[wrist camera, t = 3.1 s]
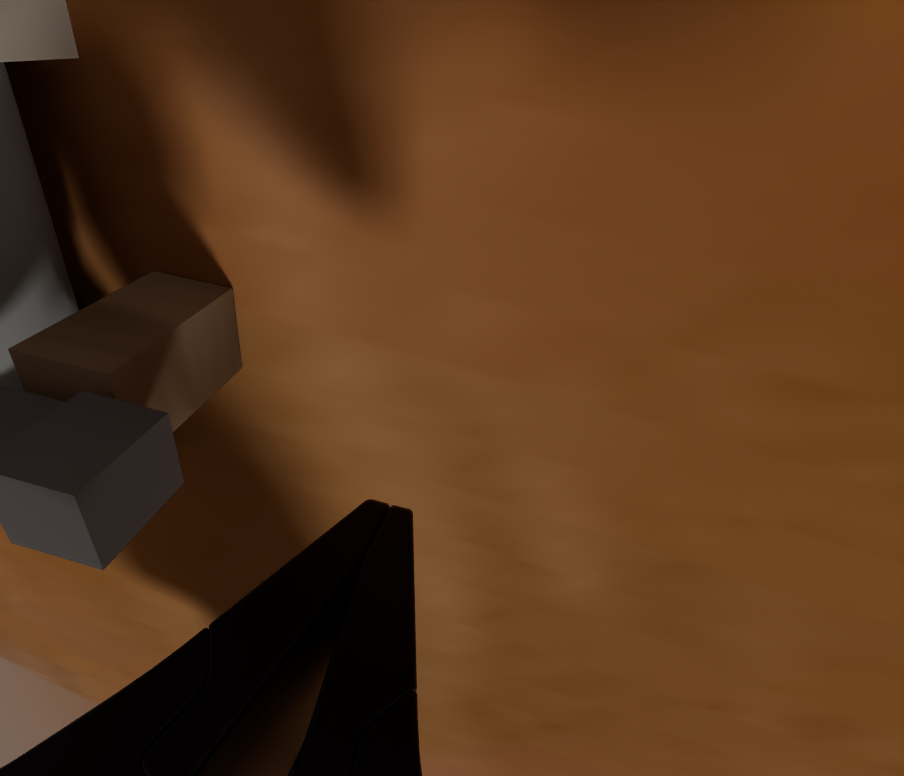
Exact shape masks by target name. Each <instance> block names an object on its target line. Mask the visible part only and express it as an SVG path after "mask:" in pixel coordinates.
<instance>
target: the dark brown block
mask: <svg viewBox="0 0 904 776" xmlns="http://www.w3.org/2000/svg"><path fill="white" fill-rule="evenodd" d="M8 351H9V353H10V356H11V358H12V361H13V363H14V366H15V368H16V371H17V373H18V376H19V378H20V381H21V383H22V386H23V388H24V391H25V392H29V393H33V394H37V395H41V396H45V397H49V398H52V399H56V400H60V401H64V402H67V401H68V400H69V399H71V398H72V397H74V396H75V395H77V394H78V393H80V392H81V391H85V392H89V393H93V394H97V395H101V396H105V397H109V398H113V399H117V400H120V401H124V402H128V403H132V404H136V405H140V406H144V407H148V408H152V409H156V410H160V411H164V412H168V413H169V417H170V421H171V426H172V430H173V432H174V431H175V430H176V429H177V428H178V427H179V426H180V425H181V424H182V423H184V422H185V421H186V420H187V419H188V418H189V417H190V416H191V415H192V414H193V413H194V412H195V411H196V410H197V409H198V408H200V407H201V406H202V405H203V404H204V403H205V402H206V401H207V400H208V399H209V398H210V397H211V396H212V395H213V394H215V393H216V392H217V391H218V390H219V389H220V388H221V387H222V386H223V385H224V384H225V383H226V382H227V381H228V380H230V379H231V378H232V377H233V376H234V375H235V374H236V373H237V372H238V371H239V370H240V369H241V368H242V365H241V356H240V348H239V340H238V331H237V323H236V315H235V306H234V298H233V290H232V288H229V287H225V286H220V285H215V284H211V283H206V282H202V281H197V280H193V279H188V278H184V277H179V276H175V275H170V274H166V273H161V272H157V271H152V272H150V273H148V274H147V275H145V276H143V277H141V278H139V279H137V280H135V281H134V282H132V283H130V284H128V285H126V286H124V287H122V288H120V289H119V290H117V291H115V292H113V293H111V294H109V295H107V296H106V297H104V298H102V299H100V300H98V301H96V302H94V303H92V304H91V305H89V306H87V307H85V308H83V309H81V310H79V311H77V312H76V313H74V314H72V315H70V316H68V317H66V318H64V319H63V320H61V321H59V322H57V323H55V324H53V325H51V326H49V327H48V328H46V329H44V330H42V331H40V332H38V333H36V334H34V335H33V336H31V337H29V338H27V339H25V340H23V341H21V342H20V343H18V344H16V345H14V346H12V347H10V348H8Z"/></svg>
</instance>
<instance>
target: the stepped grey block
mask: <svg viewBox="0 0 904 776" xmlns="http://www.w3.org/2000/svg"><path fill="white" fill-rule="evenodd" d="M183 483H184V479H183V475H182V470H181V466H180V462H179V457H178V453H177V448H176V444H175V439H174V435H173V430H172V426H171V421H170V417H169V413H168V412H164V411H160V410H156V409H152V408H148V407H144V406H140V405H136V404H132V403H128V402H124V401H120V400H117V399H113V398H109V397H105V396H101V395H97V394H93V393H89V392H85V391H81V392H80V393H78V394H77V395H75V396H74V397H72V398H71V399H69V400H68V401H67V402H64V401H60V400H56V399H52V398H49V397H45V396H41V395H37V394H33V393H29V392H25V391H22V390H18V389H14V388H10V387H6V386H2V385H0V522H1V524H2V526H3V528H4V530H5V532H6V534H7V535H8V537H9V539H10V541H11V543H14V544H17V545H21V546H24V547H27V548H31V549H34V550H37V551H41V552H44V553H47V554H51V555H54V556H58V557H61V558H64V559H68V560H71V561H74V562H78V563H81V564H84V565H88V566H91V567H94V568H98V569H101V570H104V569H105V568H106V567H107V566H108V564H109V563H110V562H111V561H112V560H113V559H114V558H115V557H116V556H117V555H118V554H119V553H120V552H121V550H122V549H123V548H124V547H125V546H126V545H127V544H128V543H129V542H130V541H131V540H132V539H133V537H134V536H135V535H136V534H137V533H138V532H139V531H140V530H141V529H142V528H143V527H144V526H145V525H146V523H147V522H148V521H149V520H150V519H151V518H152V517H153V516H154V515H155V514H156V513H157V512H158V510H159V509H160V508H161V507H162V506H163V505H164V504H165V503H166V502H167V501H168V500H169V499H170V498H171V496H172V495H173V494H174V493H175V492H176V491H177V490H178V489H179V488H180V487H181V486H182V485H183Z"/></svg>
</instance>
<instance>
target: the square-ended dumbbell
mask: <svg viewBox="0 0 904 776" xmlns="http://www.w3.org/2000/svg"><path fill="white" fill-rule="evenodd" d="M72 58H79V56H78V52H77V48H76V43H75V39H74V35H73V30H72V26H71V22H70V18H69V13H68V9H67V5H66V0H0V385H2V386H6V387H10V388H14V389H18V390H22V391H24V388H23V386H22V383H21V381H20V378H19V376H18V373H17V371H16V368H15V366H14V363H13V361H12V358H11V356H10V353H9V351H8V348H10V347H12V346H14V345H16V344H18V343H20V342H21V341H23V340H25V339H27V338H29V337H31V336H33V335H34V334H36V333H38V332H40V331H42V330H44V329H46V328H48V327H49V326H51V325H53V324H55V323H57V322H59V321H61V320H63V319H64V318H66V317H68V316H70V315H72V314H74V313H76V312H77V311H79V309H78V306H77V302H76V299H75V296H74V293H73V289H72V286H71V283H70V279H69V276H68V273H67V269H66V266H65V263H64V259H63V256H62V253H61V249H60V246H59V243H58V240H57V236H56V233H55V230H54V226H53V223H52V220H51V216H50V213H49V210H48V206H47V203H46V200H45V196H44V193H43V190H42V187H41V183H40V180H39V177H38V173H37V170H36V167H35V163H34V160H33V157H32V153H31V150H30V147H29V143H28V140H27V137H26V134H25V130H24V127H23V124H22V120H21V117H20V114H19V110H18V107H17V104H16V100H15V97H14V94H13V90H12V87H11V84H10V81H9V77H8V74H7V71H6V67H5V64H4V62H15V61H34V60H53V59H72Z"/></svg>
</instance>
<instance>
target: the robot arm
mask: <svg viewBox="0 0 904 776" xmlns="http://www.w3.org/2000/svg"><path fill="white" fill-rule="evenodd" d="M416 689H417V677H416V632H415V588H414V543H413V512H412V511H411V510H410V509H407V508H403V507H399V506H395V505H393V506H391V507H390V506H389V504H387V503H384V502H380V501H376V500H372V499H369V500H366V501H365V502H363V503H362V504H361V505H360V506H358V507H357V508H356V509H354V510H353V511H352V512H351V513H349V514H348V515H347V516H346V517H344V518H343V519H342V520H341V521H339V522H338V523H337V524H336V525H334V526H333V527H332V528H331V529H329V530H328V531H327V532H326V533H324V534H323V535H322V536H320V537H319V538H318V539H317V540H315V541H314V542H313V543H312V544H310V545H309V546H308V547H307V548H305V549H304V550H303V551H302V552H300V553H299V554H298V555H297V556H295V557H294V558H293V559H291V560H290V561H289V562H288V563H286V564H285V565H284V566H283V567H281V568H280V569H279V570H278V571H276V572H275V573H274V574H273V575H271V576H270V577H269V578H267V579H266V580H265V581H264V582H262V583H261V584H260V585H259V586H257V587H256V588H255V589H254V590H252V591H251V592H250V593H249V594H247V595H246V596H245V597H244V598H242V599H241V600H240V601H238V602H237V603H236V604H235V605H233V606H232V607H231V608H230V609H228V610H227V611H226V612H225V613H223V614H222V615H221V616H220V617H218V618H217V619H216V620H215V621H213V622H212V623H211V624H210V625H209V629H208V628H204V629H203V630H202V631H200V632H199V633H198V634H197V635H195V636H194V637H193V638H192V639H190V640H189V641H188V642H187V643H185V644H184V645H183V646H181V647H180V648H179V649H177V650H176V651H175V652H173V653H172V654H171V655H169V656H168V657H167V658H165V659H164V660H163V661H161V662H160V663H159V664H158V665H156V666H155V667H154V668H152V669H151V670H149V671H148V672H146V673H145V674H143V675H142V676H140V677H139V678H138V679H136V680H135V681H133V682H132V683H130V684H129V685H127V686H126V687H124V688H123V689H122V690H120V691H119V692H117V693H116V694H114V695H113V696H111V697H110V698H108V699H107V700H105V701H104V702H102V703H101V704H99V705H97V706H96V707H95V708H93V709H92V710H90V711H89V712H87V713H85V714H84V715H82V716H81V717H79V718H78V719H76V720H75V721H73V722H72V723H70V724H69V725H67V726H66V727H64V728H63V729H61V730H60V731H58V732H56V733H55V734H53V735H52V736H50V737H49V738H47V739H46V740H44V741H43V742H41V743H40V744H38V745H37V746H35V747H34V748H32V749H31V750H29V751H28V752H26V753H25V754H23V755H21V756H20V757H18V758H17V759H16V760H14V761H12V762H11V763H9V764H7V765H5V766H3V767H2V768H0V776H422V771H421V762H420V752H419V734H418V712H417V693H416Z"/></svg>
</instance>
